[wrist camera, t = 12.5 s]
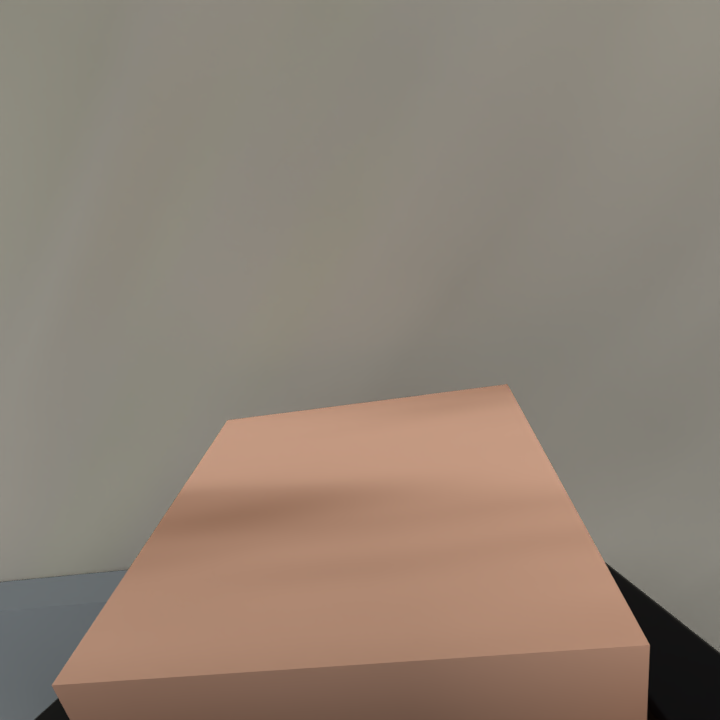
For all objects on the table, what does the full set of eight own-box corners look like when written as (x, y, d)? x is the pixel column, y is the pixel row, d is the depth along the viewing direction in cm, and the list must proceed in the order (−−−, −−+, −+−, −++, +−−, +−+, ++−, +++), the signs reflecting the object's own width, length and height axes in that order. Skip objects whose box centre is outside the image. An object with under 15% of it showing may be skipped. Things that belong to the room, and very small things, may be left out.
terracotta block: (523, 607, 10) (636, 976, 5) (287, 624, 11) (206, 974, 6) (507, 384, 8) (649, 644, 4) (227, 420, 9) (51, 685, 4)
